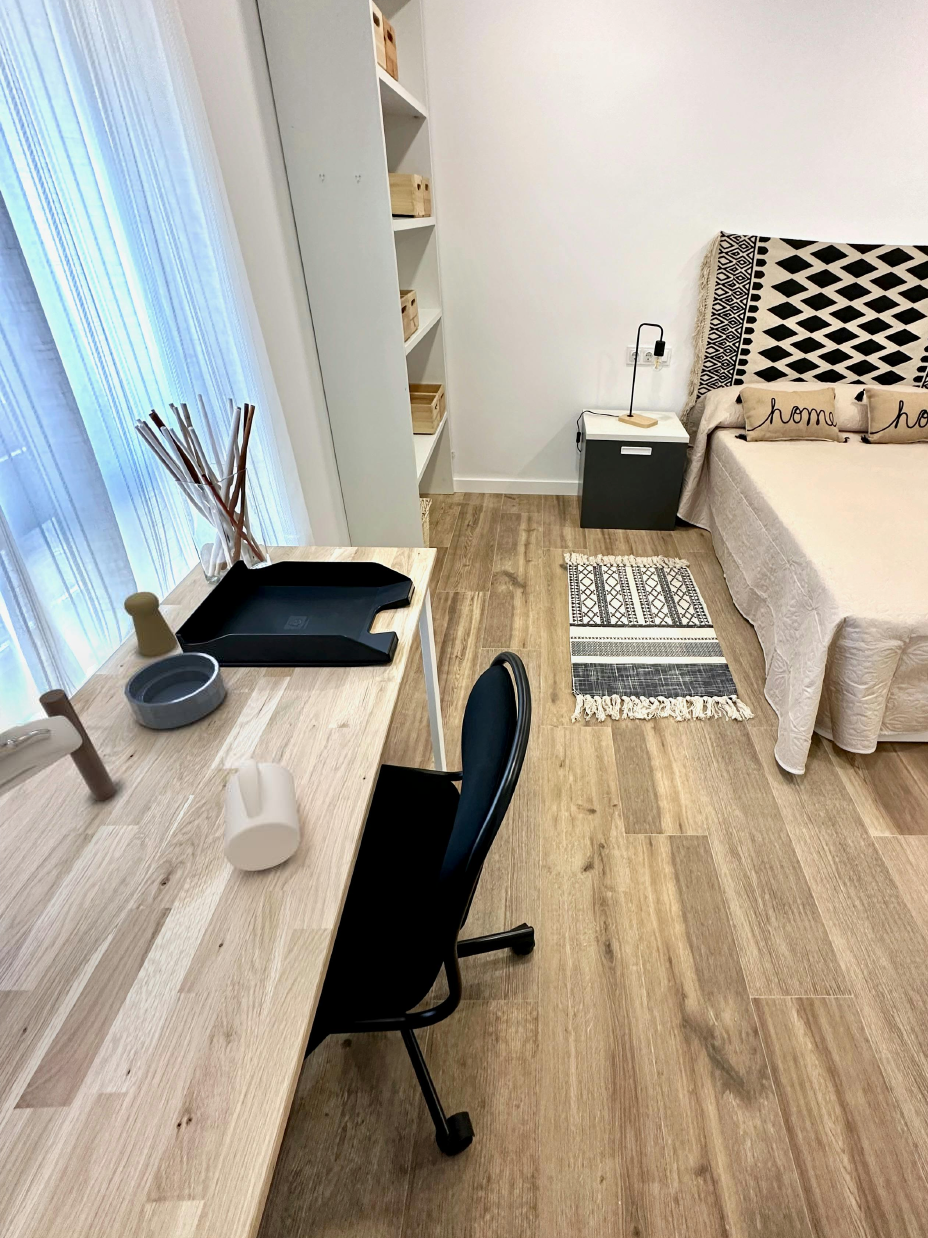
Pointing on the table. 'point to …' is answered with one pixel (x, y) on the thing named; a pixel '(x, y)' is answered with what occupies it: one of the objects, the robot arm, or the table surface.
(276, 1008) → the table surface
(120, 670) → the table surface
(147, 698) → the bowl
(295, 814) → the mug
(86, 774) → the brown cylindrical rod
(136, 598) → the pepper mill
